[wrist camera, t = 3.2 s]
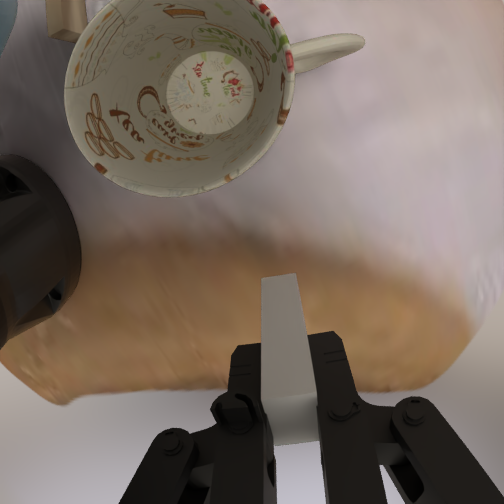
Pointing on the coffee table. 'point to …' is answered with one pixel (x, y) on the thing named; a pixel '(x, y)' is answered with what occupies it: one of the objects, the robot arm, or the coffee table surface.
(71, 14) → the bay
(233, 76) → the mug
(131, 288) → the coffee table surface
